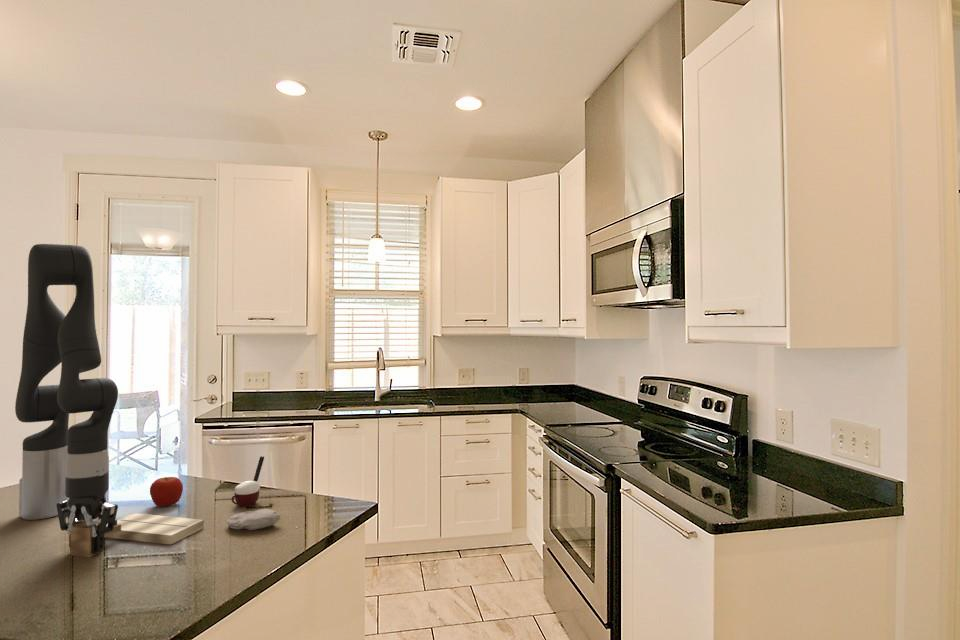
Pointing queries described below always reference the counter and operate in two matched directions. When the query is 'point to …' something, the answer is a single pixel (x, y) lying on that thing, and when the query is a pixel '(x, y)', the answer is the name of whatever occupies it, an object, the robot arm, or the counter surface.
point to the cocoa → (248, 489)
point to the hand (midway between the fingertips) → (86, 551)
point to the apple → (166, 491)
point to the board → (156, 528)
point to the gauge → (85, 538)
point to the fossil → (253, 519)
